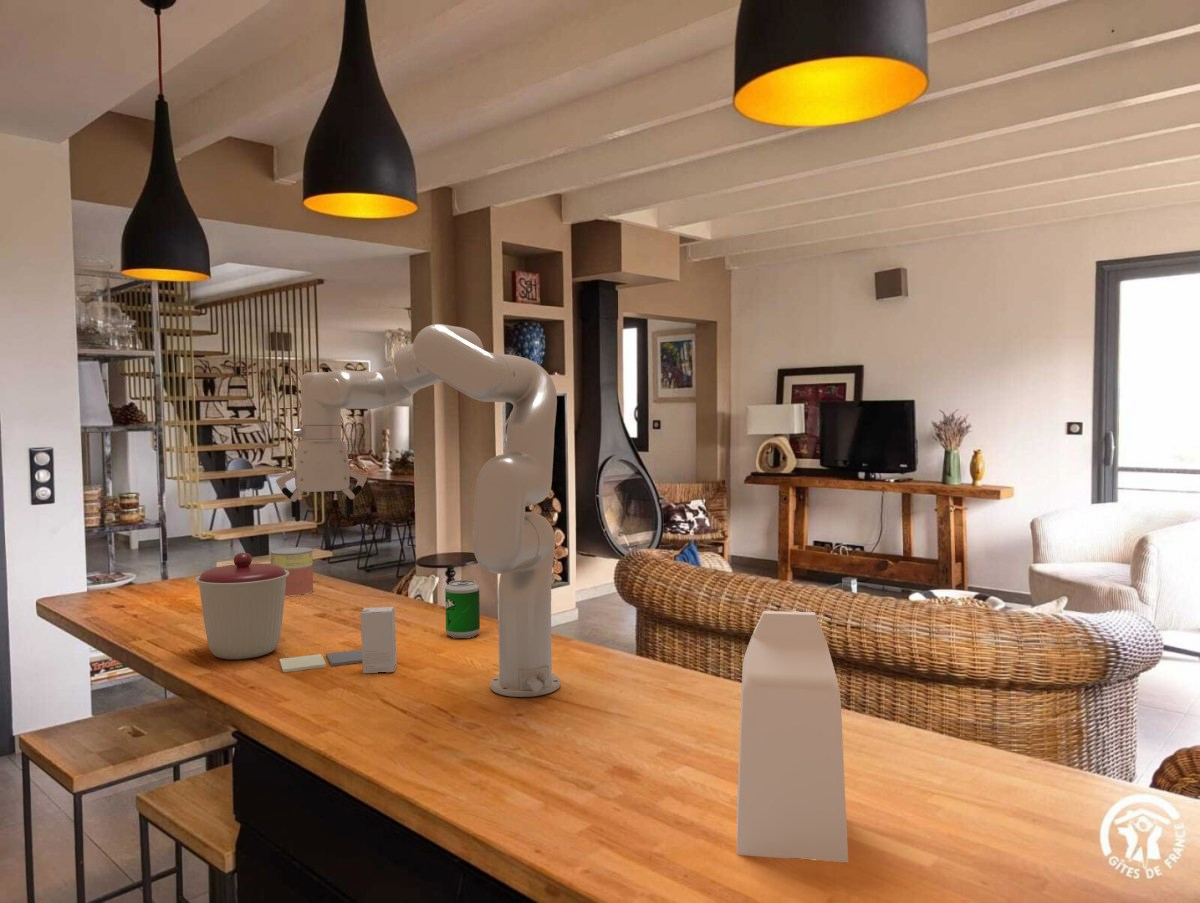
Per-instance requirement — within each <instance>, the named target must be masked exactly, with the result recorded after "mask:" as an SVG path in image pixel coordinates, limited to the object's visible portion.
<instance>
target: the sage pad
mask: <svg viewBox="0 0 1200 903" xmlns="http://www.w3.org/2000/svg"><path fill="white" fill-rule="evenodd" d="M279 665H280V668H281V671H282V673H290V672H299V671H306V670H307V671H308V670H313V669H322V668H327V663H326V661H325V659H324V657H323V655H322V654H321V653H319V654H318V653H317V654H310V655H302V656H301V655H300V656H294V657H285V658H279Z"/></svg>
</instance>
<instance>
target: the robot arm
mask: <svg viewBox="0 0 1200 903" xmlns="http://www.w3.org/2000/svg"><path fill="white" fill-rule="evenodd" d="M442 382H443V383H445V384H447V385H449V386H450V387H452V388H453V389H455V390H457V391H458V392H460V393H462V394H463V395H466V396H467V397H469V398H470V399H473V400H476V401H479V402H484V403H485V402H487V403H510V404H511V405H512V406H513V407H512V411H511V414H510V416H509V420H508V422H507V427H506V441H505V443H506V444H505V451H504V453H503V454H499V455H495V456H494V457H492V458H490V459H488V460H487V461H486V462H485V463H484V464H483V465H482V467H481V469H480V470H479V472H478V475H477V478H476V483H475V490H474V505H473V521H472V522H473V524H472V550H473V554H474V557H475V559H476V561H477V562H478V564H479V565H480V567H481V568H482V569H484V570H485V571H487V572H488V573H491V574H496V575H499V581H498V592H497V595H498V596H497V600H498V602H497V603H498V604H497V605H498V607H497V610H498V611H497V612H498V620H497V621H498V675H496V676H494V677H493V678H492V679H491V680H490V689H491V690H492V692H494V693H495V694H498V695H501V696H506V697H512V698H513V697H514V698H530V697H531V698H532V697H540V696H544V695H548V694H551V693H553V692H555V691H557V690H558V689H559V688H560V687H561V678H560V677H559V676H558V675H556V674H555V673H553V672H552V670H553V669H552V666H553V665H552V659H553V658H552V652H553V650H552V574H553V564H554V558H555V552H556V536H555V532H554V529H553V526H552V525H551V523H550V521H548V519H547V518H546V517H545V516H543V515H541V514H539V513H537V512H532V511H526V507H529V506H534V505H537V504H539V503H541V502H543V501H544V500H546V499H547V498H548V496H549V495H550V492H551V489H552V483H553V470H554V469H553V468H554V466H553V465H554V453H555V452H554V450H555V449H554V448H555V430H556V429H555V428H556V420H557V419H556V417H557V405H558V398H557V396H558V395H557V389H556V386H555V383H554V381H553V379H552V376H550V374H549V373H548V371H547V370H545V369H544V368H543V367H542V366H541V365H540V364H538V363H536V362H535V361H533V360H531V359H529V358H526V357H522V356H518V355H514V354H513V355H512V354H505V353H495V352H489V351H487V350H485V349H484V345H483V343H482V340H481V338H480V337H479V336H478V335H477V334H476V333H475V332H474V331H471V330H470V329H468V328H464V327H462V326H456V325H455V326H454V325H449V324H440V323H437V324H436V323H435V324H430V325H427V326H425V327H424V328H422V329H421V330H420V331H418V333H417V334H416V336H415V338H414V339H413V342H412V343H410V344H409V345H408V344H407V345H405V346H402V347H400V348H399V349H398V350H396V351H395V354H394V356H393V364H392V365H390V366H387V367H384V368H381V369H378V370H375V371H366V370H348V369H347V370H346V369H341V370H334V371H328V372H327V371H326V372H324V371H323V372H319V371H314V372H312V371H311V372H306V373H304V374H302V376H301V379H300V402H301V404H300V408H301V410H300V411H301V413H300V414H301V415H300V416H301V418H300V419H301V425H300V427H297V428H294V429H293V436H297V437H300V439H301V441H298V443H297V447H296V456H295V468H294V470H291V471H289V472H287V473H285V474H284V475H281V476H280V477H278V478H276V480H275V483H276V484H277V486H278V488H279V490H280V491H281V493H282V494H283V495H284V496H285V497H286V498H287V499H289V500H291V502H290V503H291V504H290V505H291V506H290V507H291V511H290V512H291V518H294V520H295V522H297V523H299V522H300V521H301V501H299V498H300V497H301V496H302V494H303V493H304V492H305V493H312V492H339V491H341V492H342V493H343V494H344V495H345V498H344V501H343V502H344V504H343V505H344V518H345V519H347V520H351V515H354V499H355V498H356V496H358V494H359V493H360V492H361V491H362V490H363V487H364V486H365V484H366V482H367V480H368V479H367V476H366V475H363V474H361V473H359V472H356V471H355V470H352V469H350V464H349V454H348V448H347V443H346V441H345V440H342V418H341V416H342V410H343V409H344V410H362V409H363V410H375V409H379V408H383V407H386V406H389V405H393V404H396V403H399V402H402V401H404V400H406V399H409V398H410V397H412V396H413V395H414V394H416V393H417V392H418V391H419V390H421V389H424V388H427V387H430V386H433V385H437V384H439V383H442ZM350 477H352V478H354V479H356V480H357V483H356V485H355V486H354V487H353V488H352V489H350V488H349V487H350V484H351V483H350V481H351V480H350V479H351V478H350ZM292 479H294V483H295V487H296V488H295V489H294V491H293V492H292V491H291V490H289V488H288V487H287V485H286V483H287V482H288V481H290V480H292Z"/></svg>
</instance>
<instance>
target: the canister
mask: <svg viewBox="0 0 1200 903" xmlns="http://www.w3.org/2000/svg"><path fill="white" fill-rule="evenodd" d="M252 562H253V557H252V555H251V553H248V552H240V553H236V554H235V556H234V557H233V563H234V564H229V565H221V566H217V567H213V568H209V569H207V570H205V571H204V572H202V573H201V574H200V575H198V576H196V577H195V578H194V581H195V583H196V584H198V587H199V588H198V589H199V596H200V601H201V602H200V603H201V609H202V610H201V611H202V614H203V615H202V617H203V622H204V628H205V629H204V630H205V636H206V641H207V645H208V648H209V650H210V652H211V654H212V655H213V656H215V657H217V658H220V659H223V660H247V659H248V660H249V659H253V658H254V659H255V658H258V657H262V656H265V655H268V654H270V653H272V652H274V650H276V648H277V647H278V646H279V643H280V639H281V635H282V634H281V632H282V625H283V617H284V616H283V615H284V605H285V598H286V597H285V586H286V577H288V576H289V571H287V570H284V569H283V568H282V567H280V566H277V565H273V564H271V563H255V562H254V563H252Z"/></svg>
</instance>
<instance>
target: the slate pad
mask: <svg viewBox="0 0 1200 903" xmlns="http://www.w3.org/2000/svg"><path fill="white" fill-rule="evenodd" d="M325 657H326V659H327V660H328V663H329V664H330V666H331V667H339V665H340V666H345V665H346V664H348V665H354V664H353V663H356V664H360V663H359V662H363V660H362V648H361V649H353V650H345V651H335V652H328V653H326V654H325ZM346 666H347V665H346Z"/></svg>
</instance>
